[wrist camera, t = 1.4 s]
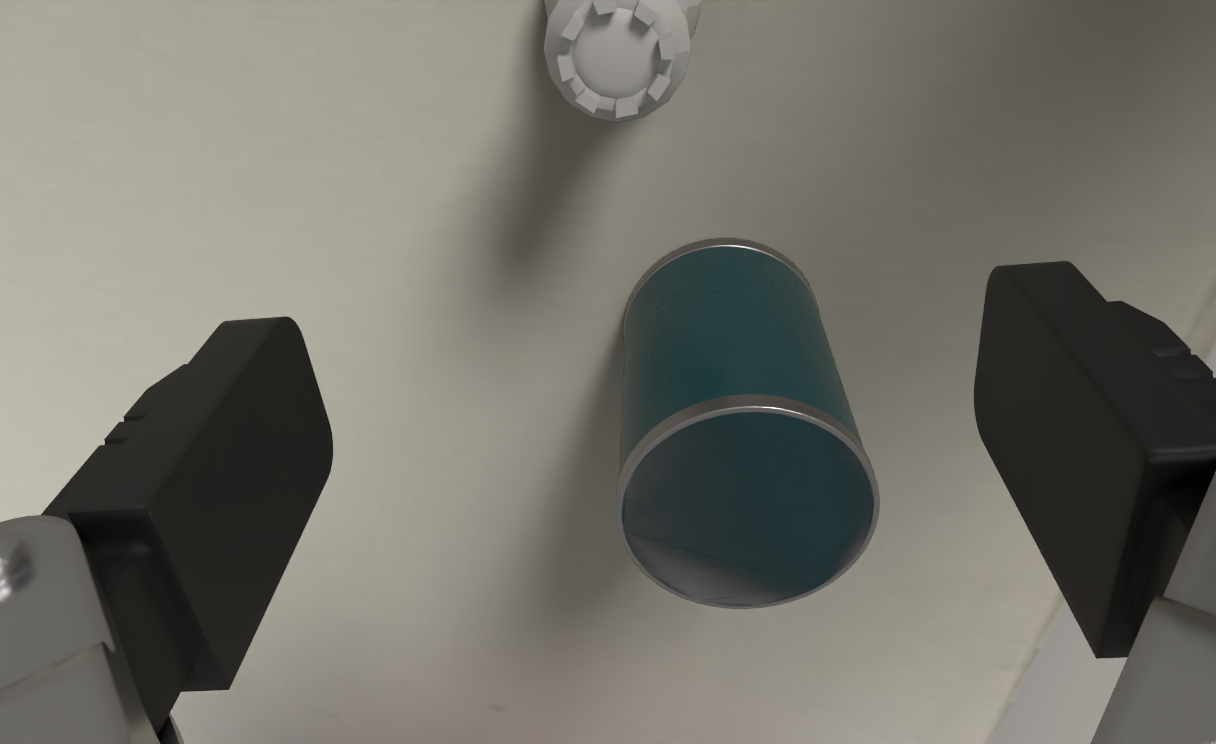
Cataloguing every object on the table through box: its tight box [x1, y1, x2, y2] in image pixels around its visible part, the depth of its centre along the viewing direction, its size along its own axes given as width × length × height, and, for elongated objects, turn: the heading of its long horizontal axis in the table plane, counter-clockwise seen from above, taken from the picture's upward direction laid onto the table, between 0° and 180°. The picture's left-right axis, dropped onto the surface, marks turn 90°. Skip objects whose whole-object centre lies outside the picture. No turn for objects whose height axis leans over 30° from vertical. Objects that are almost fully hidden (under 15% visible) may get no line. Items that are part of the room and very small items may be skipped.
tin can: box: [616, 238, 880, 609], centre depth 28 cm, size 7×7×10 cm
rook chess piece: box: [544, 0, 702, 122], centre depth 23 cm, size 4×4×8 cm
